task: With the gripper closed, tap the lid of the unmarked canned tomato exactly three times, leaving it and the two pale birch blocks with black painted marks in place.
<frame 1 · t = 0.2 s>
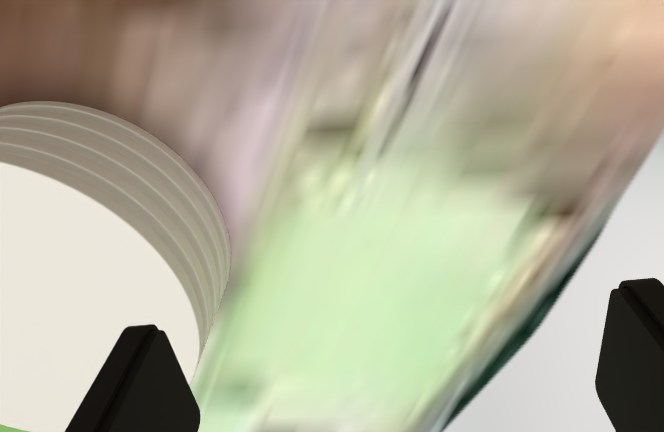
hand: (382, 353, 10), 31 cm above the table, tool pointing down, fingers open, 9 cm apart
plate stack: (89, 239, 47), on the table
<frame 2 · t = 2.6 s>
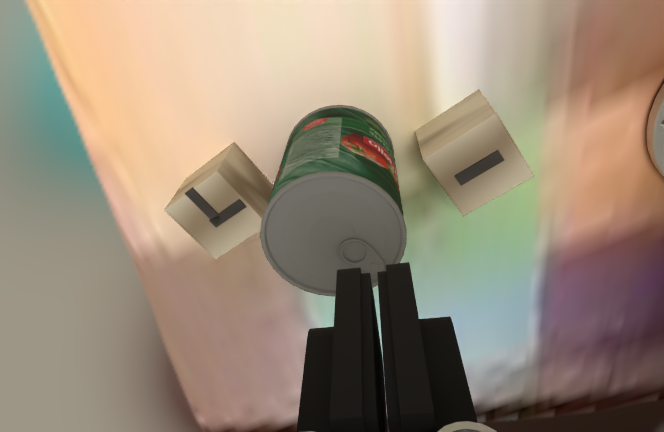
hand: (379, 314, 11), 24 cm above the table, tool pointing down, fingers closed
canned tomato: (340, 156, 36), on the table
marked block two: (233, 184, 37), on the table
marked block one: (464, 138, 34), on the table
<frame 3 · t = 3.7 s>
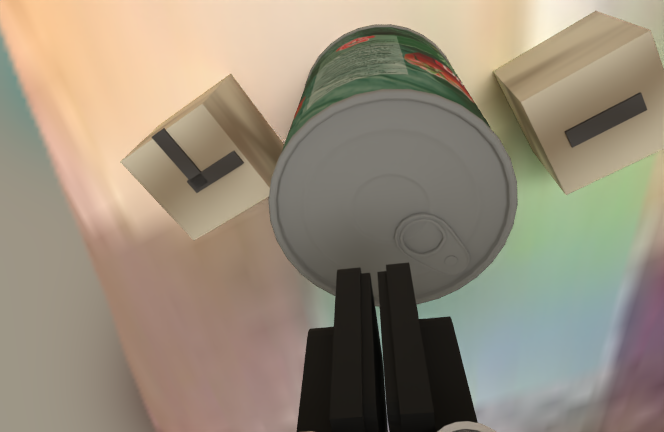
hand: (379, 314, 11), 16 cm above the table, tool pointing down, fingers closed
canned tomato: (380, 104, 25), on the table
marked block two: (225, 137, 26), on the table
marked block one: (561, 85, 24), on the table
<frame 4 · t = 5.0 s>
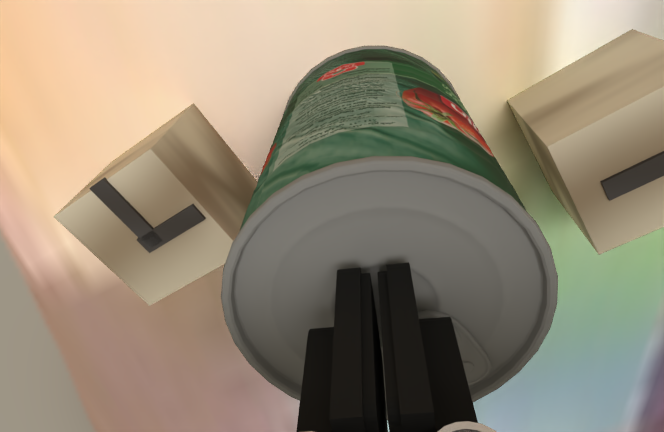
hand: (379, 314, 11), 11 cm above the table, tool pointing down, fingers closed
canned tomato: (372, 138, 21), on the table, touching gripper
marked block two: (190, 176, 22), on the table
marked block one: (587, 117, 20), on the table
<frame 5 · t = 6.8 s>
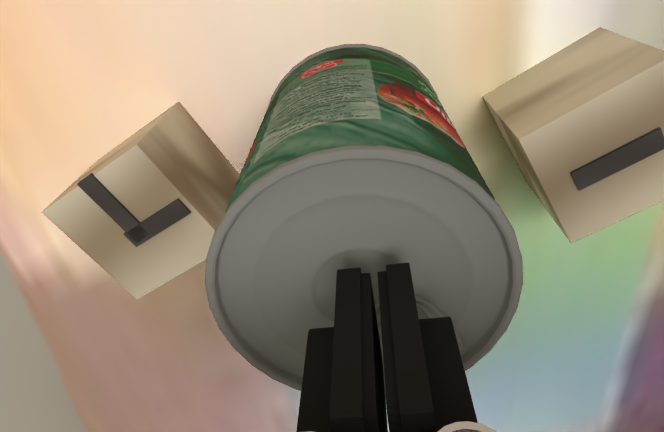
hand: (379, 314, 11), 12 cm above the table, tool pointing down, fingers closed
canned tomato: (354, 134, 22), on the table
marked block two: (176, 173, 23), on the table
marked block one: (560, 112, 21), on the table
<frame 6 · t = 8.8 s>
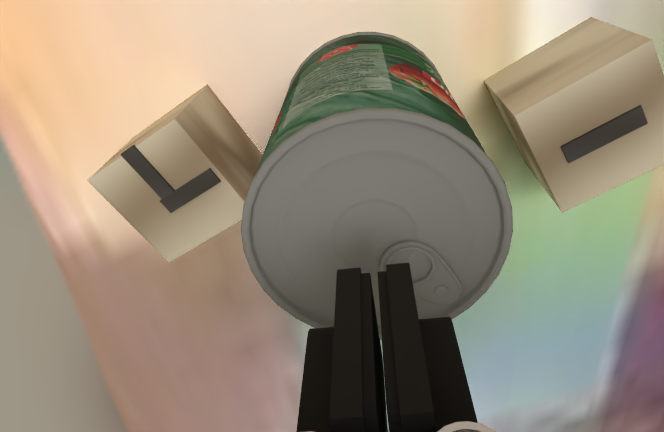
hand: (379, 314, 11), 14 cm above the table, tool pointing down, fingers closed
canned tomato: (365, 115, 24), on the table
marked block two: (202, 151, 25), on the table
marked block one: (555, 95, 23), on the table
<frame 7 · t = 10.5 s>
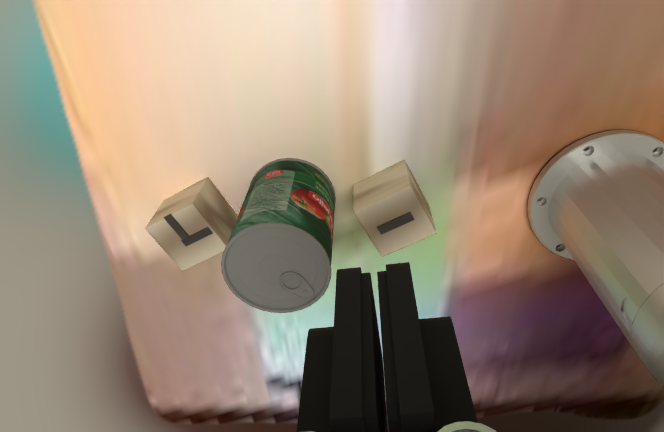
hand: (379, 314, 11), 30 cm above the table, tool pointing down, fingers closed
canned tomato: (292, 196, 44), on the table
marked block two: (202, 209, 45), on the table
marked block one: (391, 193, 43), on the table
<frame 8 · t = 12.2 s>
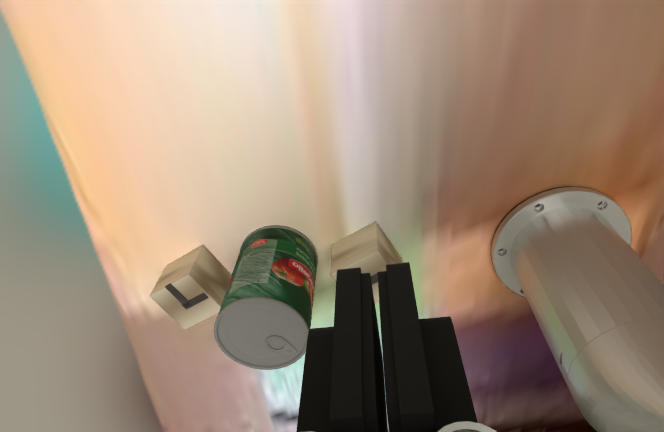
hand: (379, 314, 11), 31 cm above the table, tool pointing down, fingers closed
canned tomato: (279, 257, 49), on the table
marked block two: (200, 271, 50), on the table
marked block one: (367, 250, 48), on the table
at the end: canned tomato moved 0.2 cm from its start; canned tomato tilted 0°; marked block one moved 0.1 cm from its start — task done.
